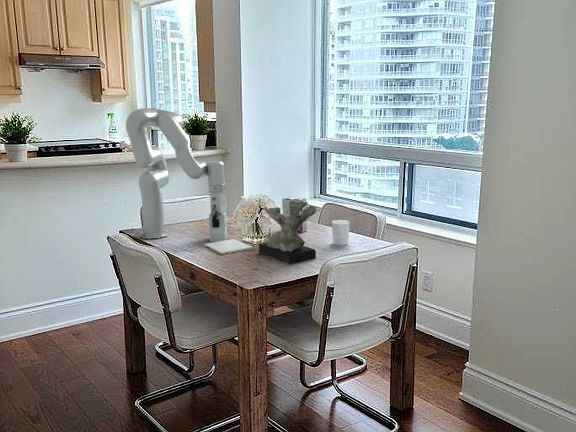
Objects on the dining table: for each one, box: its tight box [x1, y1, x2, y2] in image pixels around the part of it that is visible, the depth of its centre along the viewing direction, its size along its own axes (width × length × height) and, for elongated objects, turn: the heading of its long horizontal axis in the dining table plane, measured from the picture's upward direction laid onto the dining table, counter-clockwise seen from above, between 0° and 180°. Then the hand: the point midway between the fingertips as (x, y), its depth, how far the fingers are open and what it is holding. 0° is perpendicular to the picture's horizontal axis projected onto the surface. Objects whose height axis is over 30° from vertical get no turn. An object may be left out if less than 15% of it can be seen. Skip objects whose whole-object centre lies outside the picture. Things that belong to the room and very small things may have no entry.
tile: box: [203, 238, 253, 255], centre depth 251 cm, size 15×17×1 cm
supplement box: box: [208, 211, 228, 242], centre depth 264 cm, size 7×7×13 cm
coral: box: [258, 201, 318, 265], centre depth 239 cm, size 25×20×22 cm
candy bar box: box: [281, 196, 308, 234], centre depth 278 cm, size 11×5×16 cm, turn 60°
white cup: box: [331, 219, 351, 246], centre depth 254 cm, size 8×8×10 cm
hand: (219, 225), depth 264 cm, fingers open, 9 cm apart
